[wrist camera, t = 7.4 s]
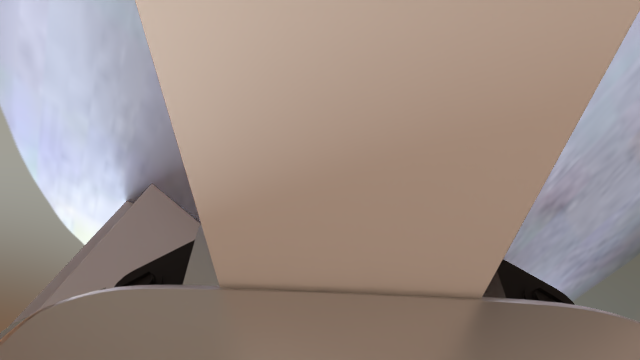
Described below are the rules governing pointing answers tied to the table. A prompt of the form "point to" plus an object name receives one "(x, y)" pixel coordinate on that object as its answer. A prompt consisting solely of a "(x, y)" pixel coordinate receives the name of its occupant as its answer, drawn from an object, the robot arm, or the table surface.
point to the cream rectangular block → (373, 130)
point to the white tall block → (121, 248)
